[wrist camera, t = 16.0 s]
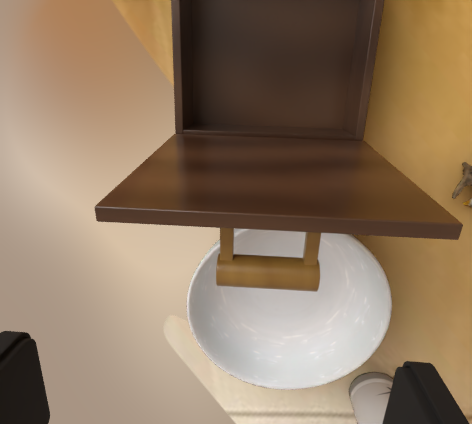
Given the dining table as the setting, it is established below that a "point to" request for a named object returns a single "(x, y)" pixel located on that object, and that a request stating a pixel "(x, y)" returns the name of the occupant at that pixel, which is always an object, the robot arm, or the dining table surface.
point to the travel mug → (370, 397)
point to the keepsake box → (274, 67)
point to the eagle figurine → (464, 182)
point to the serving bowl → (292, 313)
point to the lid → (275, 199)
